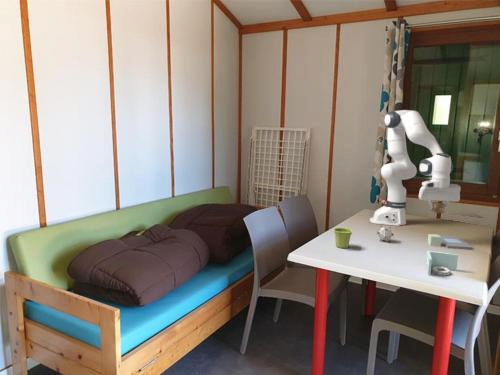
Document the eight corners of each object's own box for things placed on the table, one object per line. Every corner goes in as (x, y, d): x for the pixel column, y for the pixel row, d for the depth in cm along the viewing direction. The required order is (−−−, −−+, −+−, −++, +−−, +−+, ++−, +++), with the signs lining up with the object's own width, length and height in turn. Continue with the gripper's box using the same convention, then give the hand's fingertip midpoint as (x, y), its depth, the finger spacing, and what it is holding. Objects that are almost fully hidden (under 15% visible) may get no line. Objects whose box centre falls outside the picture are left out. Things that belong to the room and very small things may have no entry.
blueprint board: (447, 248, 197) (447, 245, 197) (434, 237, 216) (434, 234, 216) (472, 249, 195) (472, 247, 195) (457, 238, 215) (457, 236, 215)
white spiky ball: (386, 247, 209) (397, 232, 208) (387, 245, 201) (398, 230, 201) (372, 236, 212) (383, 222, 212) (372, 235, 204) (384, 220, 204)
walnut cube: (434, 212, 205) (435, 203, 205) (431, 210, 210) (432, 201, 210) (444, 213, 205) (445, 203, 204) (441, 211, 210) (441, 202, 209)
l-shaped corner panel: (427, 276, 159) (429, 259, 158) (425, 266, 170) (427, 250, 169) (460, 281, 155) (462, 263, 154) (455, 270, 166) (457, 254, 165)
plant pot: (339, 242, 202) (340, 226, 201) (355, 246, 195) (356, 230, 194) (329, 246, 195) (330, 229, 194) (345, 250, 189) (346, 233, 188)
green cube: (430, 245, 200) (431, 236, 200) (427, 243, 205) (428, 234, 204) (440, 246, 200) (441, 237, 199) (437, 243, 205) (438, 234, 204)
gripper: (458, 183, 207) (456, 208, 209) (418, 182, 210) (416, 207, 212) (463, 185, 201) (460, 211, 203) (422, 183, 204) (420, 209, 206)
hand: (438, 209), depth 207 cm, fingers closed on walnut cube, 5 cm apart
